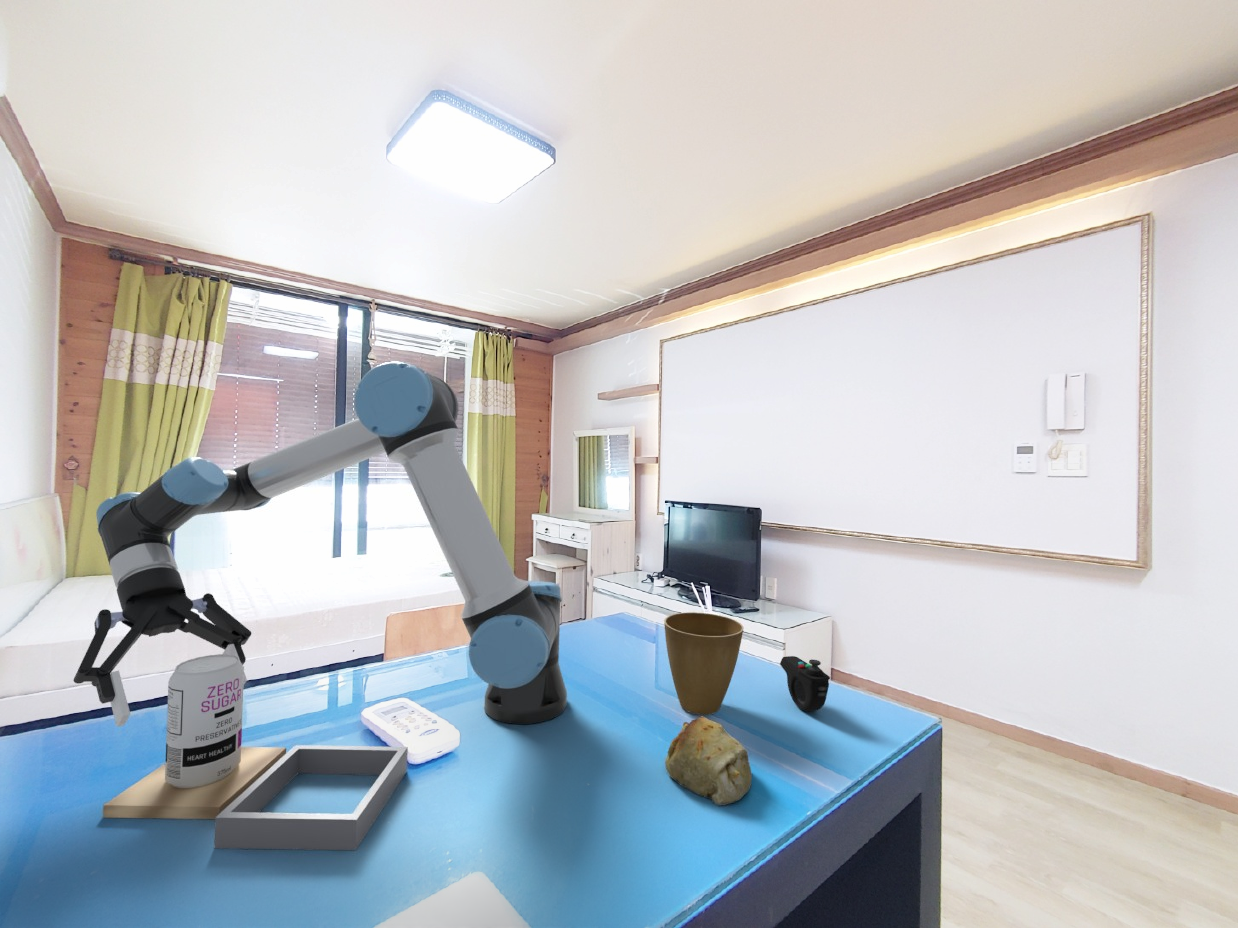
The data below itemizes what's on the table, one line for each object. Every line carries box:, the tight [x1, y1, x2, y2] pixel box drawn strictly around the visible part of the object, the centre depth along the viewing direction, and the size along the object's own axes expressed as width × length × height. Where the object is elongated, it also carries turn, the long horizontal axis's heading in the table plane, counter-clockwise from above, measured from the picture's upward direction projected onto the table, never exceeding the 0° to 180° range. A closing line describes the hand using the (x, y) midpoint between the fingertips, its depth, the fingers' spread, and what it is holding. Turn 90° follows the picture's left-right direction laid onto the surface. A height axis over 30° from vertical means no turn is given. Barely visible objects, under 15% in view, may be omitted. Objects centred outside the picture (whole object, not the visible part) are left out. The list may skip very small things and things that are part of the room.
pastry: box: [664, 715, 753, 806], centre depth 79 cm, size 14×12×8 cm
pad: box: [102, 746, 287, 820], centre depth 73 cm, size 14×14×2 cm
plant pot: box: [663, 611, 744, 716], centre depth 102 cm, size 15×15×16 cm
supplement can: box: [164, 653, 245, 788], centre depth 73 cm, size 8×8×15 cm
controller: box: [779, 655, 831, 712], centre depth 104 cm, size 4×12×10 cm, turn 13°
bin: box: [213, 744, 409, 851], centre depth 70 cm, size 16×16×4 cm
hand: (186, 702), depth 75 cm, fingers open, 13 cm apart
